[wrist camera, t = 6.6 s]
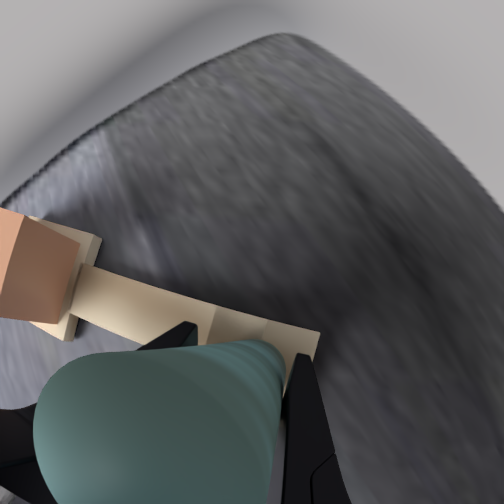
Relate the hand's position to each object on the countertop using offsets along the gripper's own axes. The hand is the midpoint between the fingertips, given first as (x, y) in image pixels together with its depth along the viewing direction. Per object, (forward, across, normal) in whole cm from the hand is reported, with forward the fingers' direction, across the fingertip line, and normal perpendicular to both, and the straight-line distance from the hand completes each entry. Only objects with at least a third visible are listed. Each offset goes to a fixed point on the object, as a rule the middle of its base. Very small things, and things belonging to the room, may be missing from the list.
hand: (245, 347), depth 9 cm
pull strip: (+4, +7, +5) cm, 10 cm away
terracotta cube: (+4, +14, +4) cm, 15 cm away
